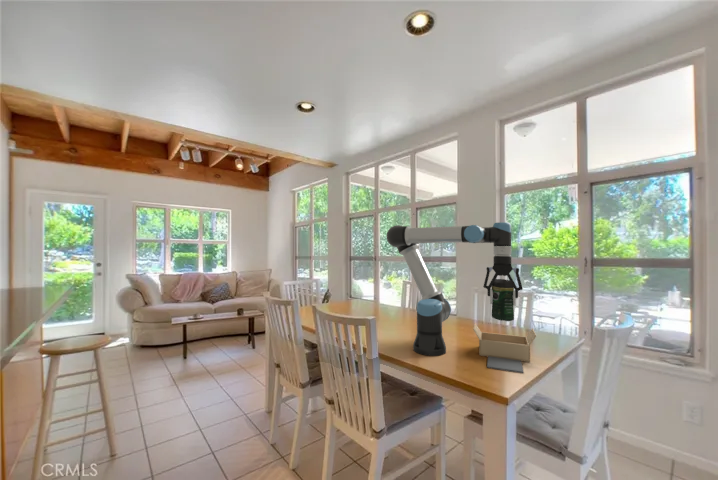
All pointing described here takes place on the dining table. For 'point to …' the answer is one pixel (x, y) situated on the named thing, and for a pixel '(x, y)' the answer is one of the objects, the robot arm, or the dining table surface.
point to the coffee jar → (502, 300)
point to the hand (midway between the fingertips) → (502, 304)
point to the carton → (505, 345)
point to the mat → (505, 364)
